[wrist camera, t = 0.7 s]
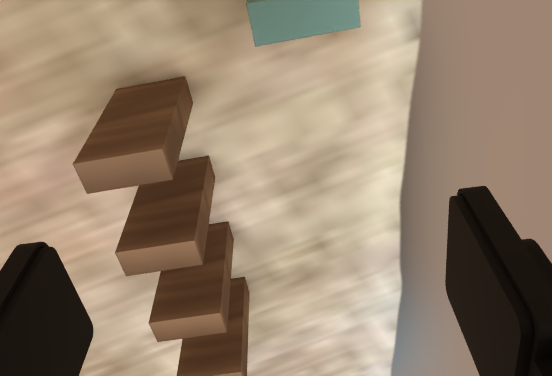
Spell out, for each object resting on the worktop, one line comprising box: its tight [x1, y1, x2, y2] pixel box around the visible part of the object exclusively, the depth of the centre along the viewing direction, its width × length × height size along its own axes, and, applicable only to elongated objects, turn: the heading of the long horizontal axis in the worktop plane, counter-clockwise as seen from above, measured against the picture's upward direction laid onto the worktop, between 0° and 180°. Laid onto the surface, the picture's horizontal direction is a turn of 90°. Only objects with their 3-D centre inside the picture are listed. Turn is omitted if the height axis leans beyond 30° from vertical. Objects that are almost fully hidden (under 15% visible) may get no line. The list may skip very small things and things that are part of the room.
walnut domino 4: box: [177, 277, 249, 376], centre depth 43 cm, size 2×5×10 cm, turn 100°
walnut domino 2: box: [115, 156, 215, 276], centre depth 36 cm, size 2×5×10 cm, turn 100°
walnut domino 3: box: [149, 222, 234, 342], centre depth 39 cm, size 2×5×10 cm, turn 100°
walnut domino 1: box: [73, 77, 193, 194], centre depth 32 cm, size 2×5×10 cm, turn 100°
